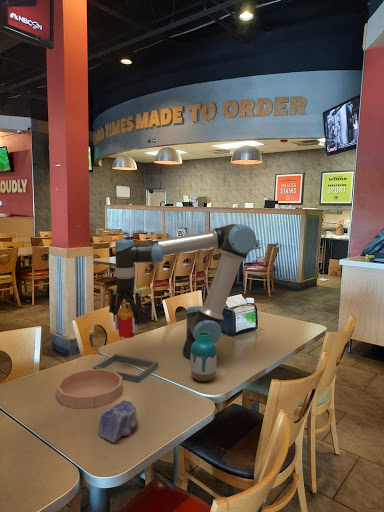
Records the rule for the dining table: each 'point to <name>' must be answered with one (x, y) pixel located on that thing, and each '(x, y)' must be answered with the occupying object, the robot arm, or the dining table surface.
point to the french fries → (125, 322)
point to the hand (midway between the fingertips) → (126, 330)
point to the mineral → (118, 421)
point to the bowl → (89, 388)
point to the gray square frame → (126, 376)
